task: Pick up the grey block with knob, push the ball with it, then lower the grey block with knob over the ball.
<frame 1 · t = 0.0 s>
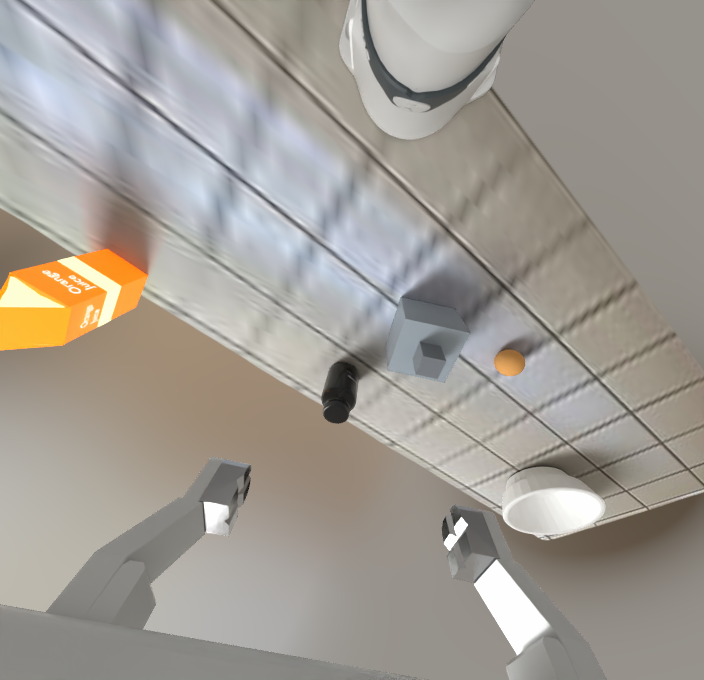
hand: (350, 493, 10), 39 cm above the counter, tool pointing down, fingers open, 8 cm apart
ball: (509, 362, 49), on the counter
orange juice: (123, 279, 50), on the counter
supplement bottle: (343, 372, 57), on the counter
bowl: (534, 480, 71), on the counter
grey block with knob: (418, 327, 49), on the counter
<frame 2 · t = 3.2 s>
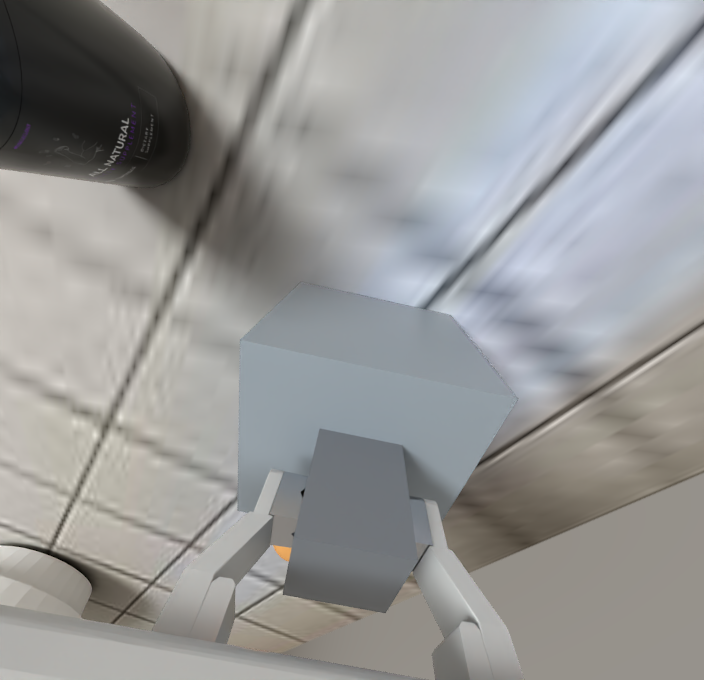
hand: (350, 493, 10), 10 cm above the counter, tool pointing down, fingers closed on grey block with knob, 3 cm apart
supplement bottle: (135, 115, 14), on the counter
bowl: (45, 566, 39), on the counter
grey block with knob: (359, 363, 19), on the counter, touching gripper
when the fingers open (12 cm above the counter, at t = 9.0 s): grey block with knob stays where it is, resting on ball.
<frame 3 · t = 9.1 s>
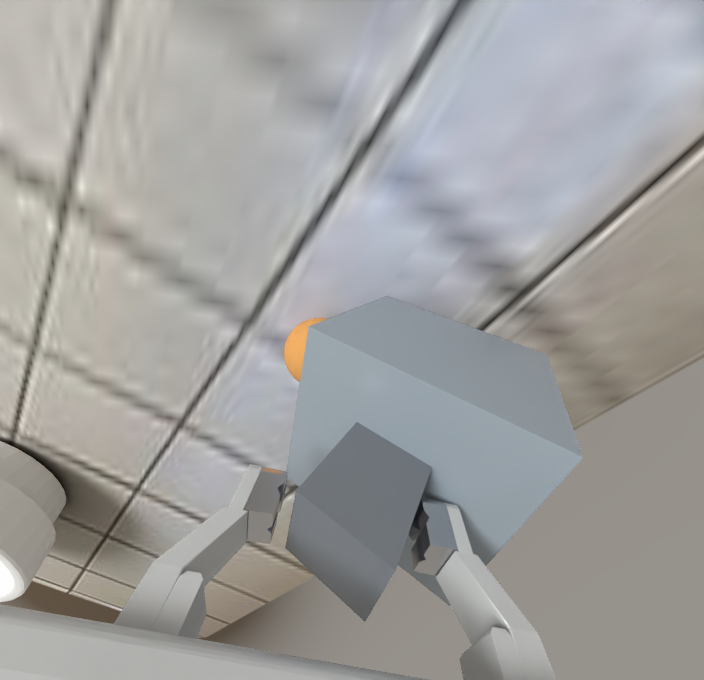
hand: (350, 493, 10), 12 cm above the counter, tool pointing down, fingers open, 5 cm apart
ball: (319, 352, 19), on the counter, touching grey block with knob
bowl: (11, 470, 32), on the counter
grey block with knob: (430, 385, 19), point 3 cm above the counter, tilted 27°, touching ball, gripper
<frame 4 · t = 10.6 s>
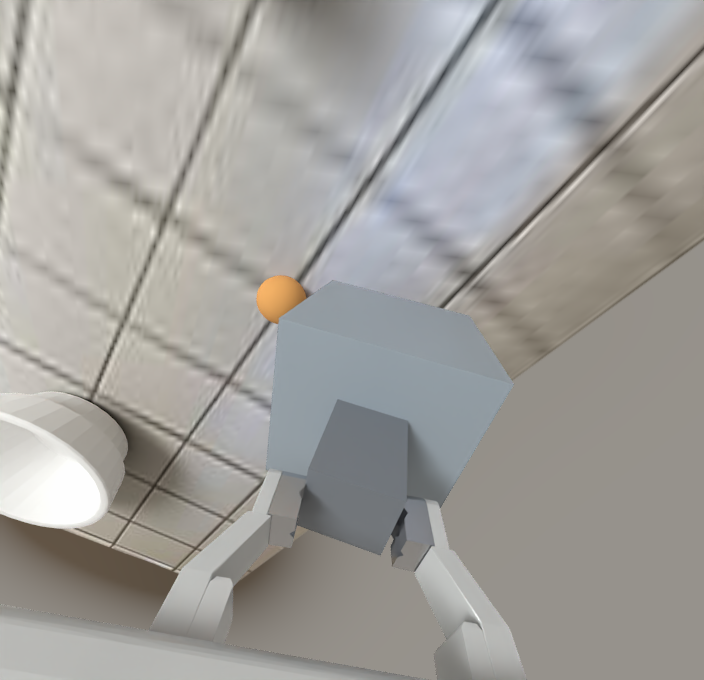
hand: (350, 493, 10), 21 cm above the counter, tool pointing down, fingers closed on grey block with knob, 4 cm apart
ball: (282, 300, 27), on the counter
bowl: (83, 427, 40), on the counter
grey block with knob: (381, 356, 21), point 10 cm above the counter, tilted 9°, touching gripper
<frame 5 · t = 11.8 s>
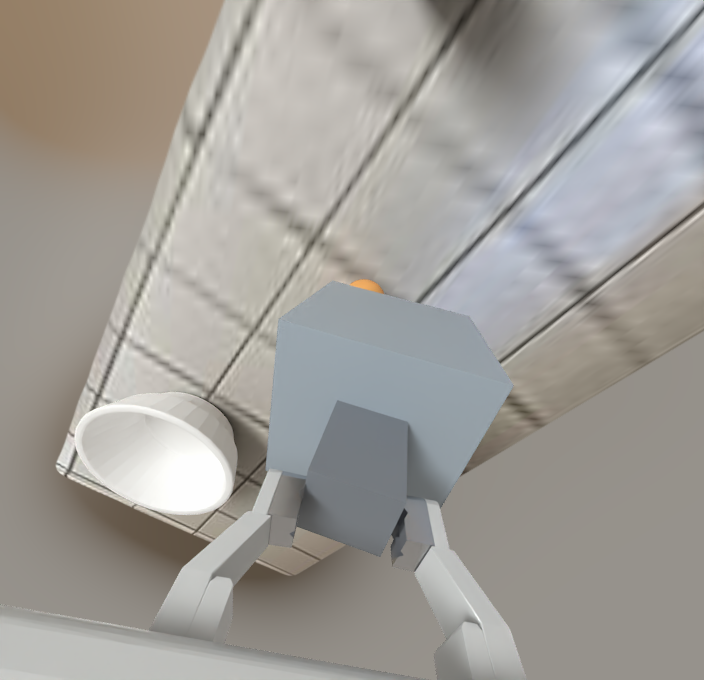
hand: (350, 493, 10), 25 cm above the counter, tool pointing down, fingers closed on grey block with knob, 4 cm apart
ball: (363, 301, 30), on the counter
bowl: (192, 424, 44), on the counter
grey block with knob: (381, 357, 21), point 13 cm above the counter, tilted 8°, touching gripper
when the fingers open (11 cm above the counter, at t = 15.8 s): grey block with knob stays where it is, on the counter.
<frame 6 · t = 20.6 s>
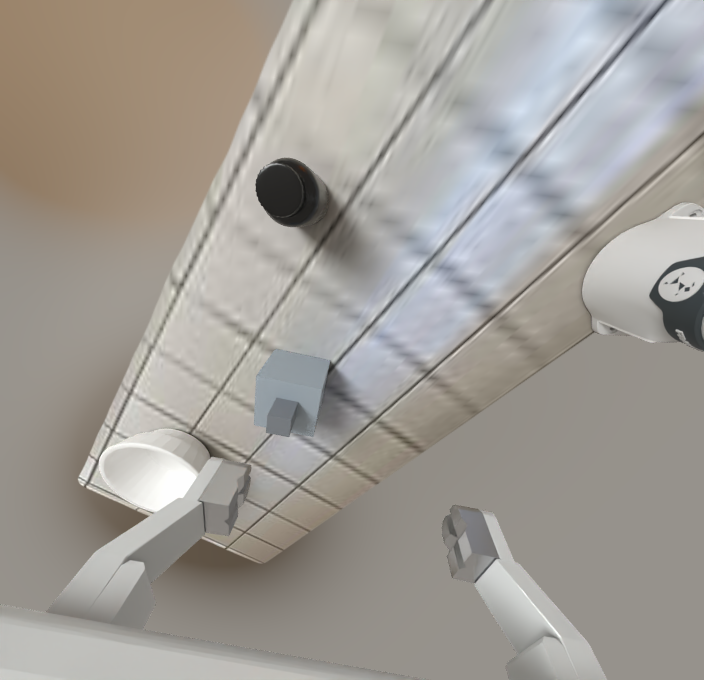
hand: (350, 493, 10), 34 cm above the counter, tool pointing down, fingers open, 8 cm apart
supplement bottle: (305, 198, 36), on the counter
bowl: (180, 449, 61), on the counter
grey block with knob: (299, 377, 49), on the counter
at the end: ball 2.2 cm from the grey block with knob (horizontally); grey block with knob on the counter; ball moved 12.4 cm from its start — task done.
